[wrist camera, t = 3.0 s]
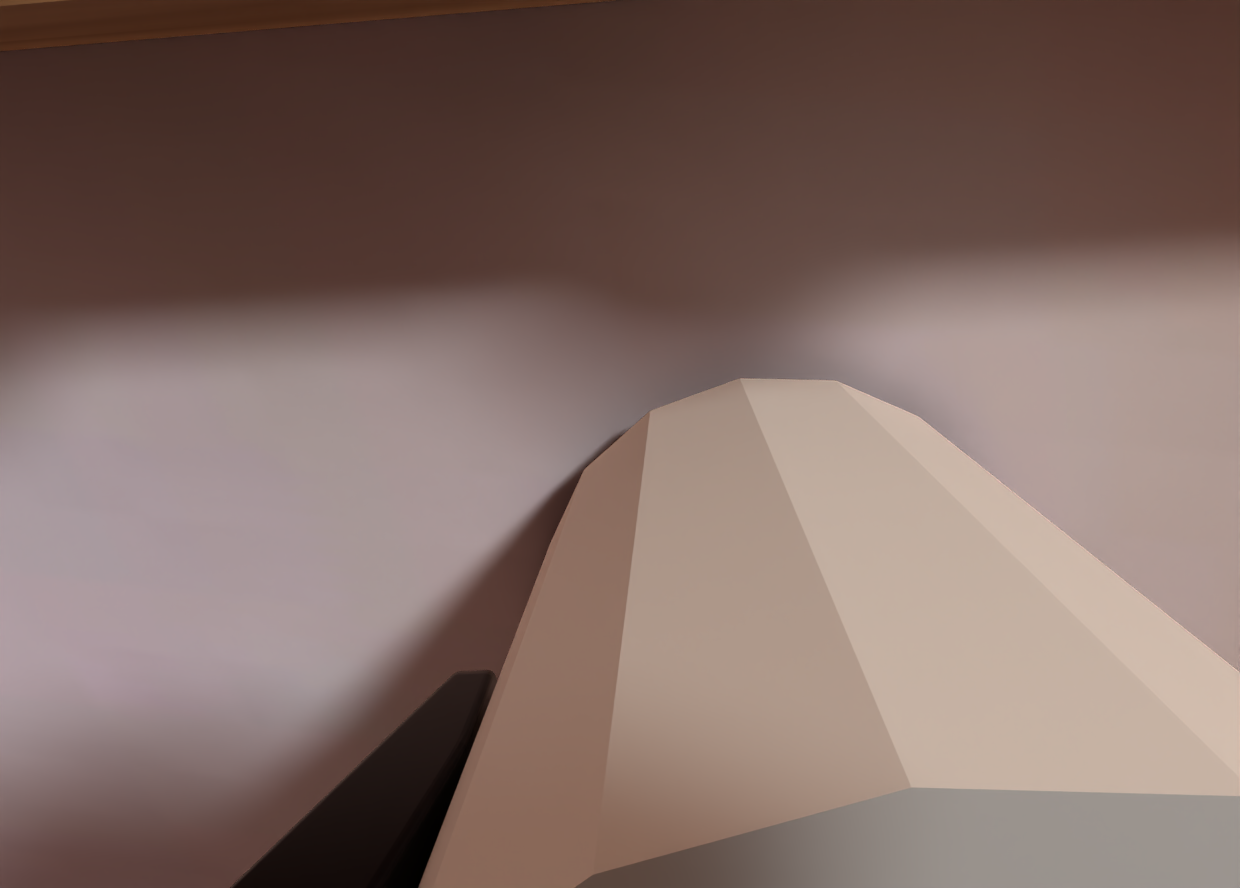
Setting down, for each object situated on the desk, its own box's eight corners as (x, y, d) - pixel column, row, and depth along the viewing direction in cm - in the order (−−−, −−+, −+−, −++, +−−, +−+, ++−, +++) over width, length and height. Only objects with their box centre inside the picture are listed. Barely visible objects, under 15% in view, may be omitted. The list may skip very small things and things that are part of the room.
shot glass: (1126, 656, 11) (1777, 1421, 5) (677, 858, 13) (717, 1644, 6) (894, 201, 9) (1514, 489, 3) (388, 510, 11) (7, 1166, 4)
